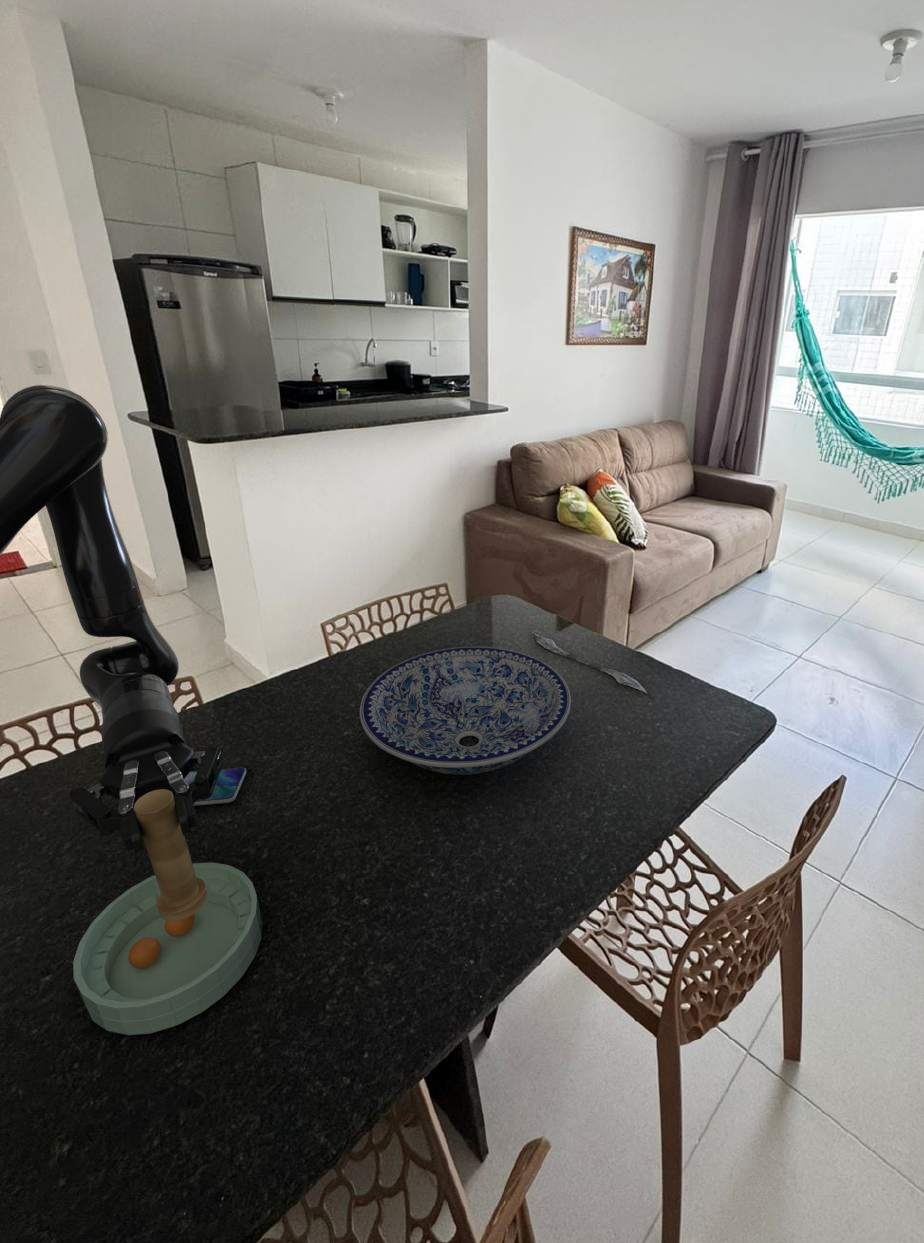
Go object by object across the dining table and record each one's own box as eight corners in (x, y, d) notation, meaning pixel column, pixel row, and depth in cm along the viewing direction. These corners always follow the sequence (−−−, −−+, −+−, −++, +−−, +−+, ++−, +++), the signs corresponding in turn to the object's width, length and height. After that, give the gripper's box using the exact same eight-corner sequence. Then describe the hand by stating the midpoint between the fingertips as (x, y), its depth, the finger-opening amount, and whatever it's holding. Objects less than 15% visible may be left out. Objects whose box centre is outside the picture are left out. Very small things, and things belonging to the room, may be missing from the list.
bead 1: (125, 967, 69) (118, 949, 68) (151, 944, 72) (145, 926, 71) (143, 979, 68) (137, 961, 67) (169, 955, 71) (164, 937, 69)
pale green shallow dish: (48, 992, 67) (34, 961, 65) (194, 871, 81) (186, 843, 79) (159, 1069, 61) (148, 1038, 59) (295, 924, 76) (289, 895, 74)
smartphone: (141, 774, 96) (247, 766, 98) (142, 779, 96) (248, 771, 99) (119, 808, 89) (233, 799, 92) (120, 813, 89) (234, 803, 92)
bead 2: (161, 935, 73) (155, 918, 72) (185, 914, 75) (180, 897, 74) (179, 946, 72) (174, 928, 70) (202, 924, 74) (198, 907, 73)
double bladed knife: (534, 633, 144) (521, 641, 140) (535, 631, 143) (521, 639, 140) (657, 685, 127) (645, 695, 123) (657, 682, 127) (645, 693, 123)
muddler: (149, 910, 65) (115, 808, 59) (188, 878, 68) (159, 779, 63) (179, 927, 63) (147, 824, 57) (217, 893, 67) (190, 793, 61)
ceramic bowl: (509, 668, 130) (510, 626, 126) (607, 767, 104) (612, 718, 100) (339, 718, 112) (333, 670, 108) (407, 852, 86) (403, 796, 82)
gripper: (55, 731, 66) (56, 840, 53) (206, 689, 74) (238, 776, 61) (75, 786, 69) (80, 901, 56) (218, 740, 77) (250, 833, 64)
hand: (162, 835), depth 59 cm, fingers closed on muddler, 3 cm apart
